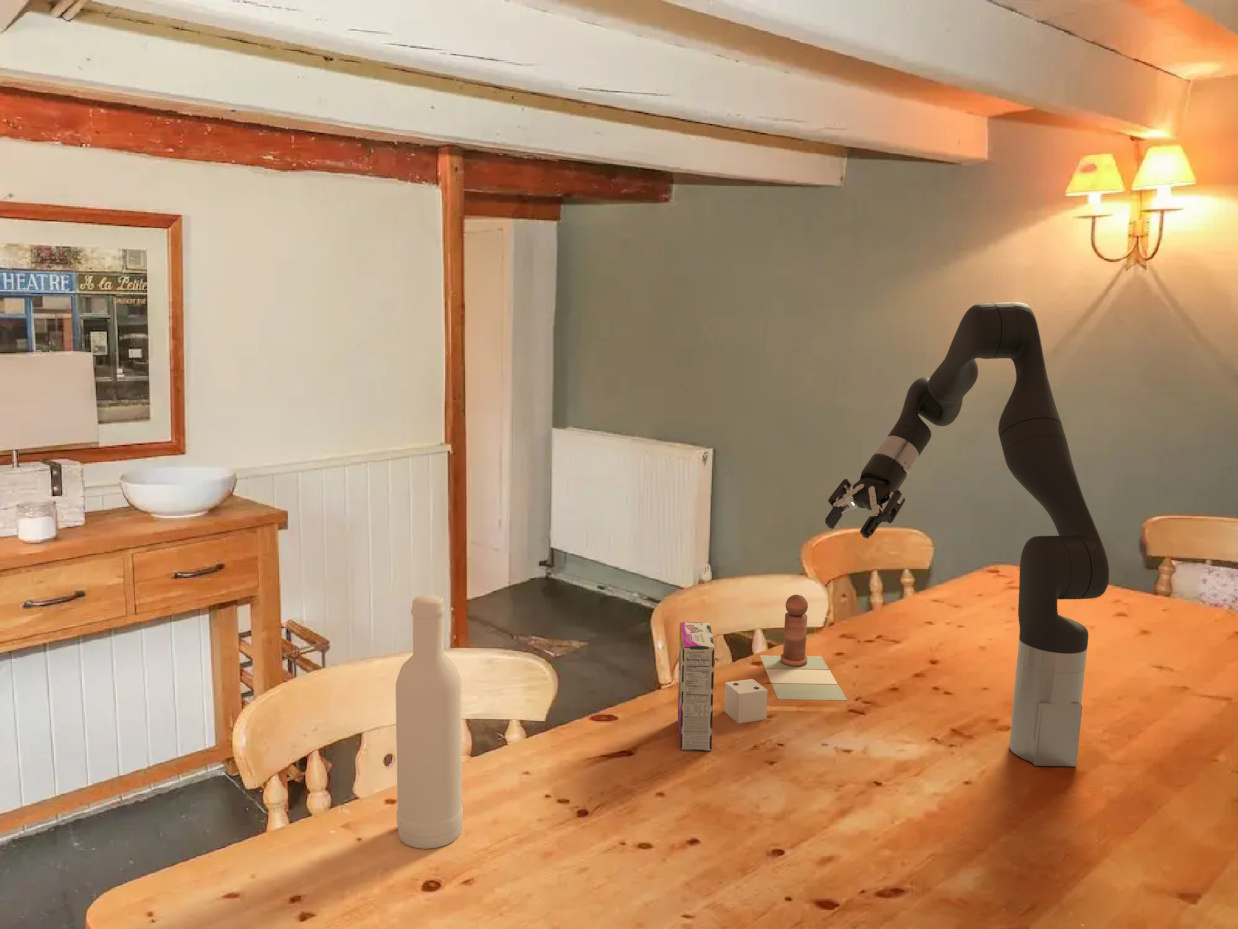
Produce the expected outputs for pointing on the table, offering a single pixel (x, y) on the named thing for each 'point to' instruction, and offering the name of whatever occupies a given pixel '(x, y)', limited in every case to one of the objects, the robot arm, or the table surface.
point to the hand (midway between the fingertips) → (845, 530)
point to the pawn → (795, 632)
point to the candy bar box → (695, 686)
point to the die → (745, 701)
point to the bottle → (429, 735)
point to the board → (802, 679)
